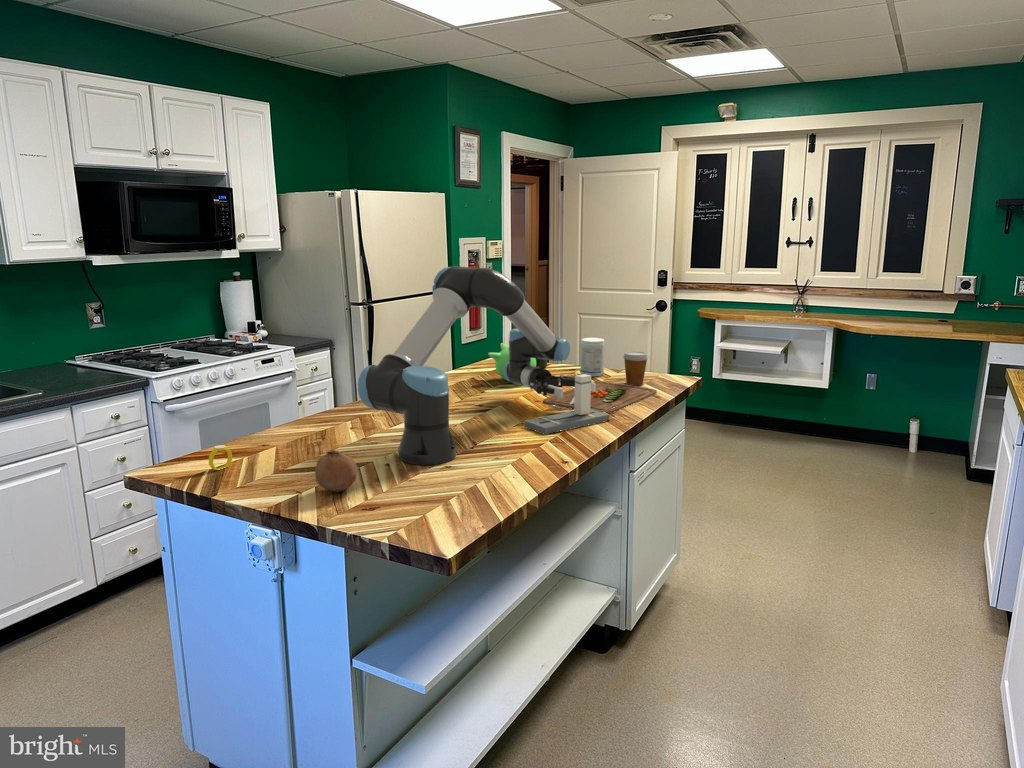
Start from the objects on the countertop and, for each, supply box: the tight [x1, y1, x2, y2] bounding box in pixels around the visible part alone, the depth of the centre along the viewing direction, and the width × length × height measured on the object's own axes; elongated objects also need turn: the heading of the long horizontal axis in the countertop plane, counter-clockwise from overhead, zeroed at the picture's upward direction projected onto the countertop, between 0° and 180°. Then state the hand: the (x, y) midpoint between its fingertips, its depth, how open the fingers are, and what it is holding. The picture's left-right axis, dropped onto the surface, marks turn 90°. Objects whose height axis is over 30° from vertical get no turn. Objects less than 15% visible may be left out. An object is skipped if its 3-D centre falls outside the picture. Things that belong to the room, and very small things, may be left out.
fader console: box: [523, 409, 610, 435], centre depth 220 cm, size 26×10×2 cm, turn 127°
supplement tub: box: [580, 337, 605, 378], centre depth 291 cm, size 10×10×15 cm
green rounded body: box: [487, 342, 536, 381], centre depth 279 cm, size 18×17×15 cm
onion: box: [314, 449, 359, 493], centre depth 162 cm, size 10×9×10 cm
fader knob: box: [574, 374, 592, 415], centre depth 222 cm, size 4×3×12 cm
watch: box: [208, 444, 233, 471], centre depth 177 cm, size 6×3×6 cm, turn 150°
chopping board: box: [542, 381, 658, 414], centre depth 254 cm, size 45×27×3 cm, turn 145°
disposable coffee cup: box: [622, 350, 649, 386], centre depth 275 cm, size 10×10×12 cm
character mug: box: [535, 358, 548, 369], centre depth 305 cm, size 11×7×13 cm, turn 71°
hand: (578, 390), depth 224 cm, fingers open, 13 cm apart
